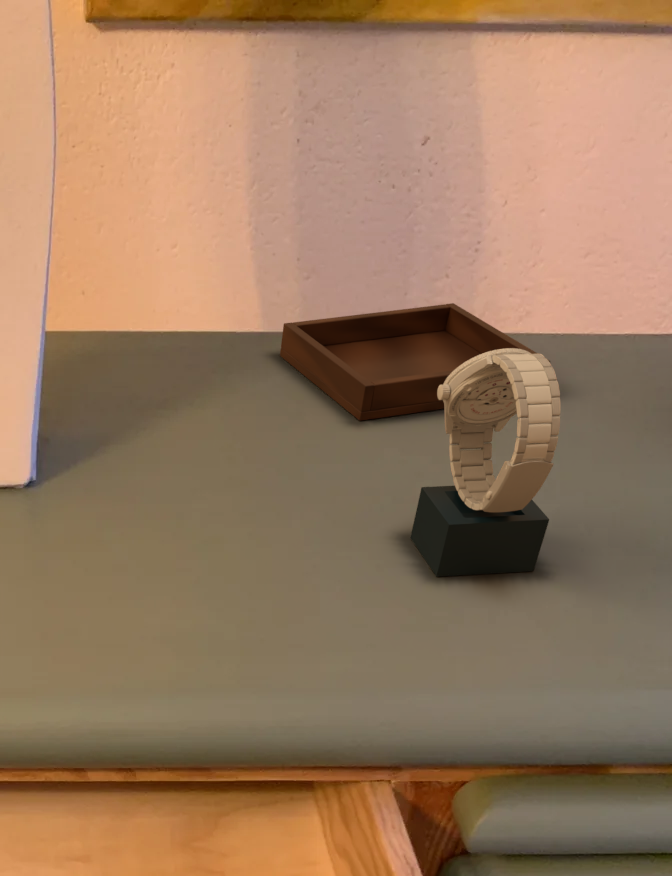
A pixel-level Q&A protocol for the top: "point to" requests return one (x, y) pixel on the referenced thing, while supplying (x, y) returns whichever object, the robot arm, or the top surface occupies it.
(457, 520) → the watch
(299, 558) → the top surface
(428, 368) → the tray
